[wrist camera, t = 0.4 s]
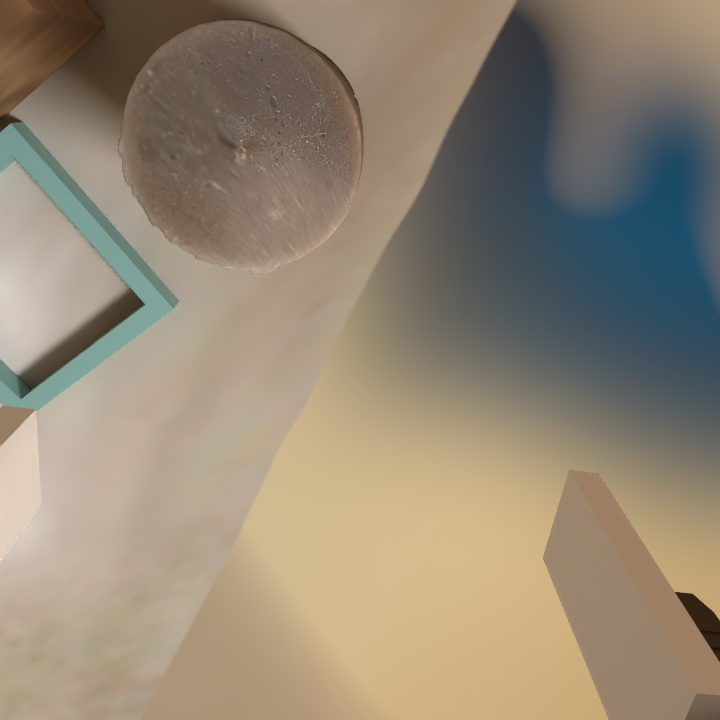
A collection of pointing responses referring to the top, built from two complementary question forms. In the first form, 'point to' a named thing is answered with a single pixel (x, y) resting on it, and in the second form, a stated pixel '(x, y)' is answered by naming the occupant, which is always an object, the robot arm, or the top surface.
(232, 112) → the pillar candle
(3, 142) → the keeper frame
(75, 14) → the brown wooden board
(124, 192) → the top surface
